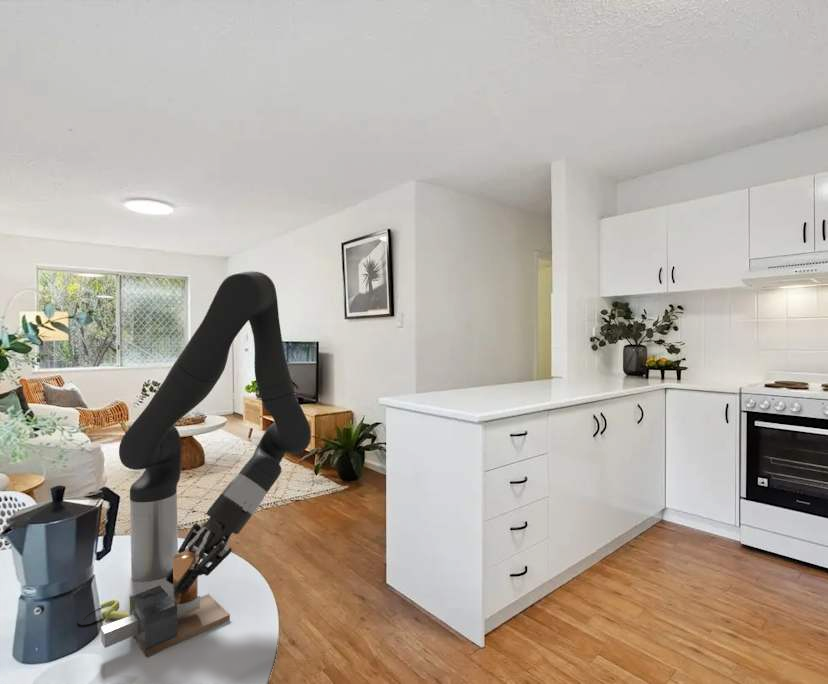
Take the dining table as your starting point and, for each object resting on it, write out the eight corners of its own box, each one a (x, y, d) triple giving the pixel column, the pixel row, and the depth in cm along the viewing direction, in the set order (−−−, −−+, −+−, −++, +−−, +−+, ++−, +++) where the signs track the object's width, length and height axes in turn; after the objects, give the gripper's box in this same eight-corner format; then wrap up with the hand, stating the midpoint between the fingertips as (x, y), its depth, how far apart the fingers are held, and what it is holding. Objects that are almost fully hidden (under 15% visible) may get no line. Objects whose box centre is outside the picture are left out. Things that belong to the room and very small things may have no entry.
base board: (129, 630, 83) (129, 625, 83) (208, 598, 93) (208, 593, 93) (146, 657, 76) (146, 651, 76) (229, 619, 86) (229, 614, 86)
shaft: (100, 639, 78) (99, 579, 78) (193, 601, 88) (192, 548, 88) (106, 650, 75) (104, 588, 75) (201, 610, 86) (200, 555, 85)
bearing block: (130, 626, 83) (129, 596, 83) (160, 614, 87) (160, 585, 87) (145, 650, 77) (144, 617, 77) (177, 636, 80) (176, 604, 80)
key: (136, 628, 85) (136, 616, 85) (70, 628, 85) (70, 616, 85) (159, 605, 92) (158, 594, 92) (98, 605, 92) (98, 594, 92)
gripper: (209, 485, 96) (145, 564, 87) (240, 502, 86) (171, 594, 77) (235, 503, 99) (176, 581, 91) (267, 522, 89) (204, 611, 81)
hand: (174, 586), depth 84 cm, fingers closed on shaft, 4 cm apart
